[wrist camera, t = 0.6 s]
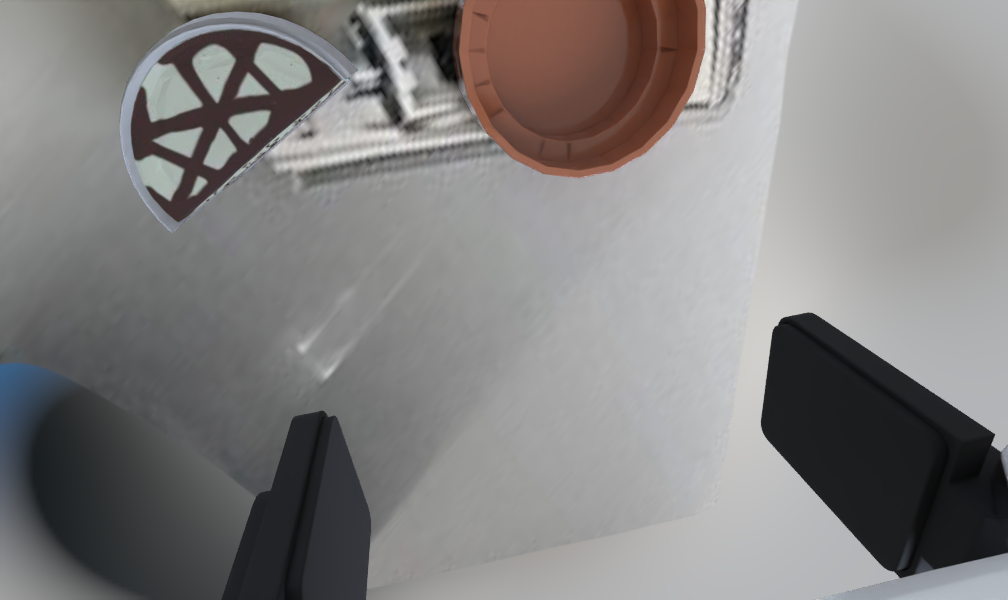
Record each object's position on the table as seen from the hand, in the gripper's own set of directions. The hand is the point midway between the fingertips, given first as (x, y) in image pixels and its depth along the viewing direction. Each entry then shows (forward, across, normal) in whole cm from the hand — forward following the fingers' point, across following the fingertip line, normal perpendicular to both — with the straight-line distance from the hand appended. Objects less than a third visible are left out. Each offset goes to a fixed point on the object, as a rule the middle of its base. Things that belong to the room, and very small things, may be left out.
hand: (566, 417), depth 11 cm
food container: (+28, +11, -6) cm, 31 cm away
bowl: (+28, -8, -6) cm, 30 cm away
